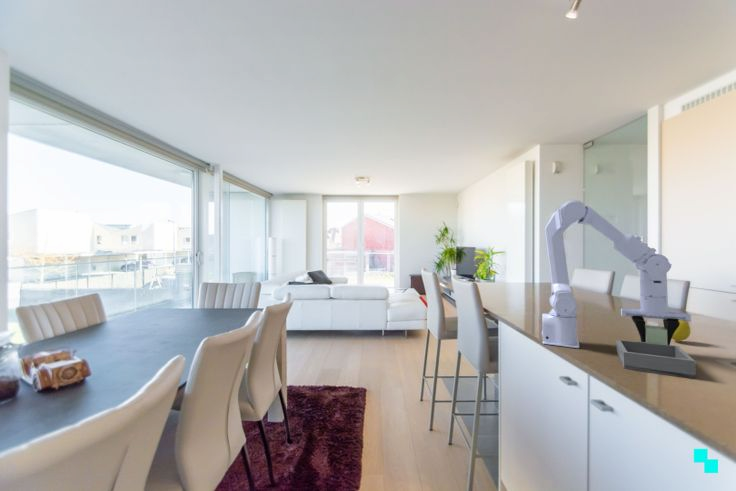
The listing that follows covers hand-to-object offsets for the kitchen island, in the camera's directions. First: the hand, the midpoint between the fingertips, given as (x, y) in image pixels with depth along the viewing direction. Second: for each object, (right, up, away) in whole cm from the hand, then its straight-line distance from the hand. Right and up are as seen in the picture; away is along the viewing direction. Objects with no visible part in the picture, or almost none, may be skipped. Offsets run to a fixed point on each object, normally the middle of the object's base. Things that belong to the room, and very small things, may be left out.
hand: (654, 344), depth 89 cm
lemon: (+15, -2, +9) cm, 17 cm away
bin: (-9, -2, -9) cm, 14 cm away
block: (0, -2, 0) cm, 2 cm away
